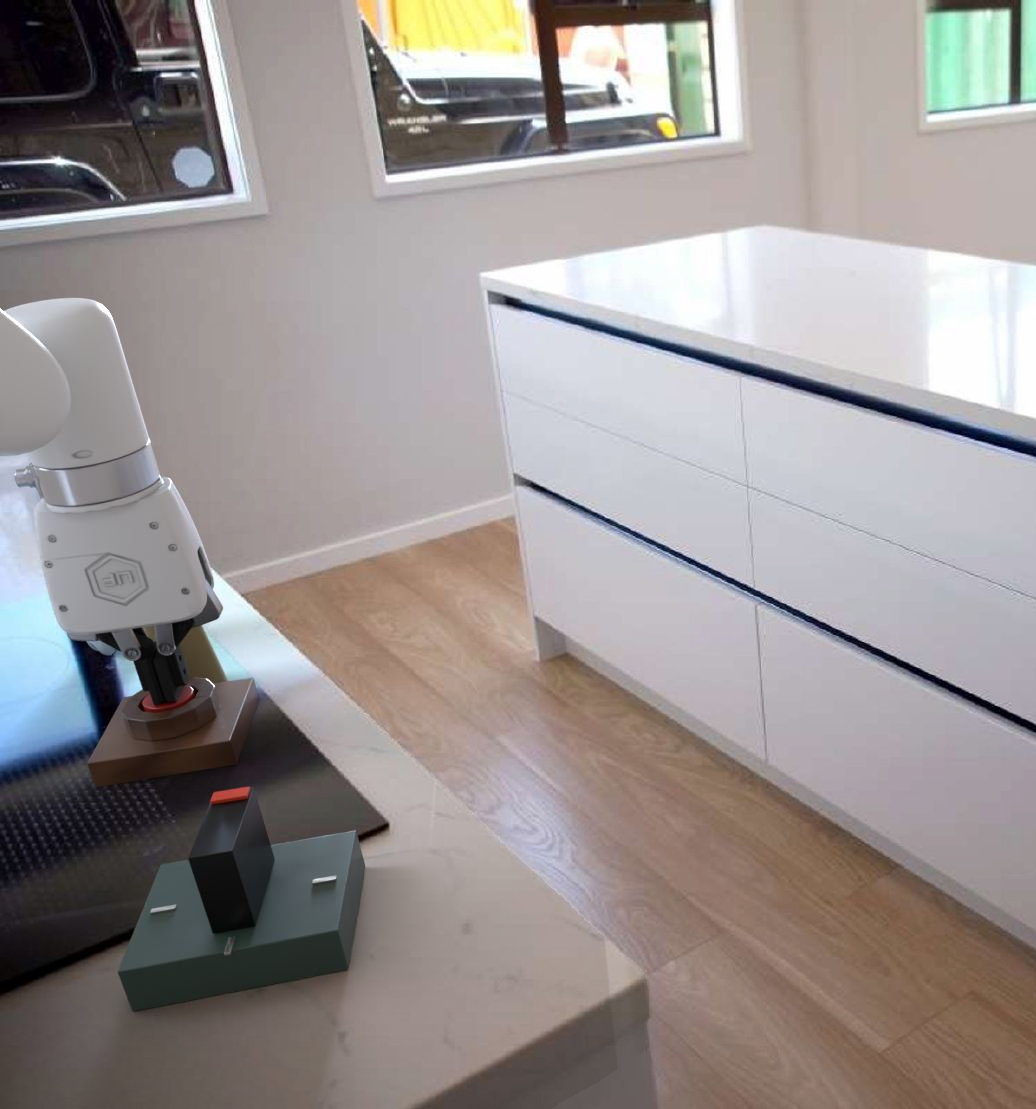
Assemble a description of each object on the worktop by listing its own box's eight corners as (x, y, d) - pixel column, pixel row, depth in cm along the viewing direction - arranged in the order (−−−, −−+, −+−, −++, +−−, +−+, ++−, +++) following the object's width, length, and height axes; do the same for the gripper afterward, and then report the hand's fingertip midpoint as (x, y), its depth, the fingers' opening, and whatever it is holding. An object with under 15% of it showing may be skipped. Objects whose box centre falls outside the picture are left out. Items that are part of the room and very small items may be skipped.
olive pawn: (231, 669, 110) (198, 555, 106) (228, 702, 105) (193, 583, 100) (155, 685, 108) (118, 569, 104) (148, 719, 103) (109, 599, 99)
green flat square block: (130, 1016, 72) (114, 974, 71) (174, 897, 82) (161, 858, 81) (348, 973, 75) (336, 932, 73) (366, 863, 84) (356, 824, 83)
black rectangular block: (255, 926, 74) (231, 847, 72) (212, 934, 74) (186, 854, 72) (275, 859, 80) (252, 783, 78) (235, 866, 80) (211, 790, 77)
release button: (143, 731, 97) (136, 711, 96) (154, 707, 100) (148, 688, 99) (193, 723, 97) (187, 703, 97) (203, 700, 101) (197, 681, 100)
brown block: (95, 788, 94) (79, 742, 93) (131, 719, 103) (116, 677, 102) (237, 764, 96) (223, 720, 94) (260, 699, 105) (248, 657, 103)
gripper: (-35, 508, 86) (50, 736, 93) (199, 479, 88) (263, 703, 96) (4, 471, 92) (81, 687, 100) (220, 444, 95) (279, 656, 103)
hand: (170, 694), depth 98 cm, fingers closed
